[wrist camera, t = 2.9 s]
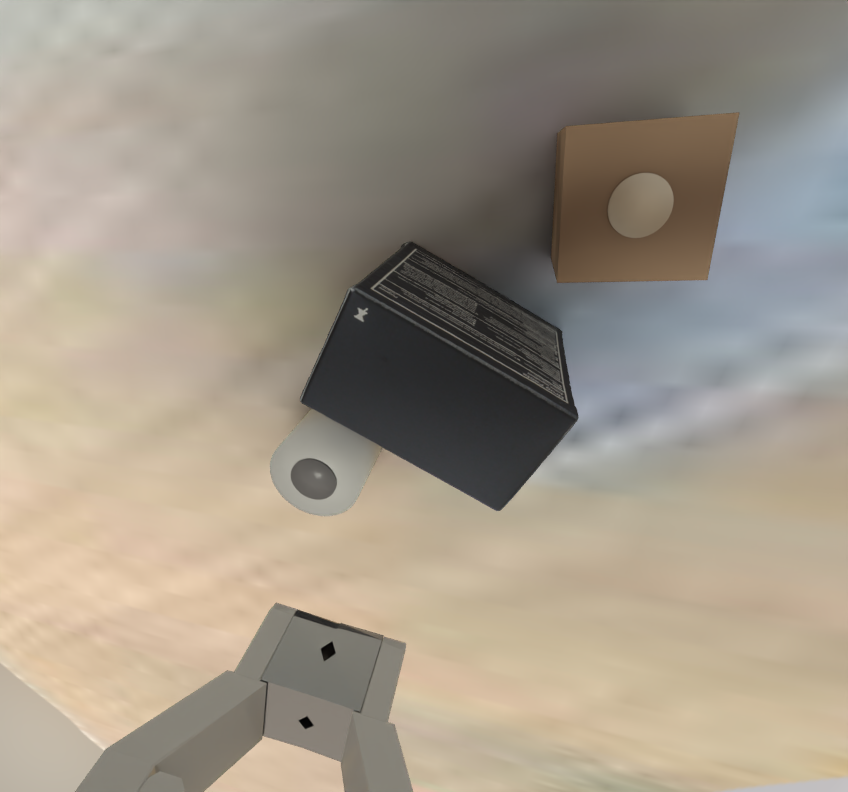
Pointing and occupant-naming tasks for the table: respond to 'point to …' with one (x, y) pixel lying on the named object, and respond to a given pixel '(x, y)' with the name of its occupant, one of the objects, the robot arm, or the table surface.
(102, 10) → the table surface
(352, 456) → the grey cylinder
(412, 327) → the small box
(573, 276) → the walnut cube
